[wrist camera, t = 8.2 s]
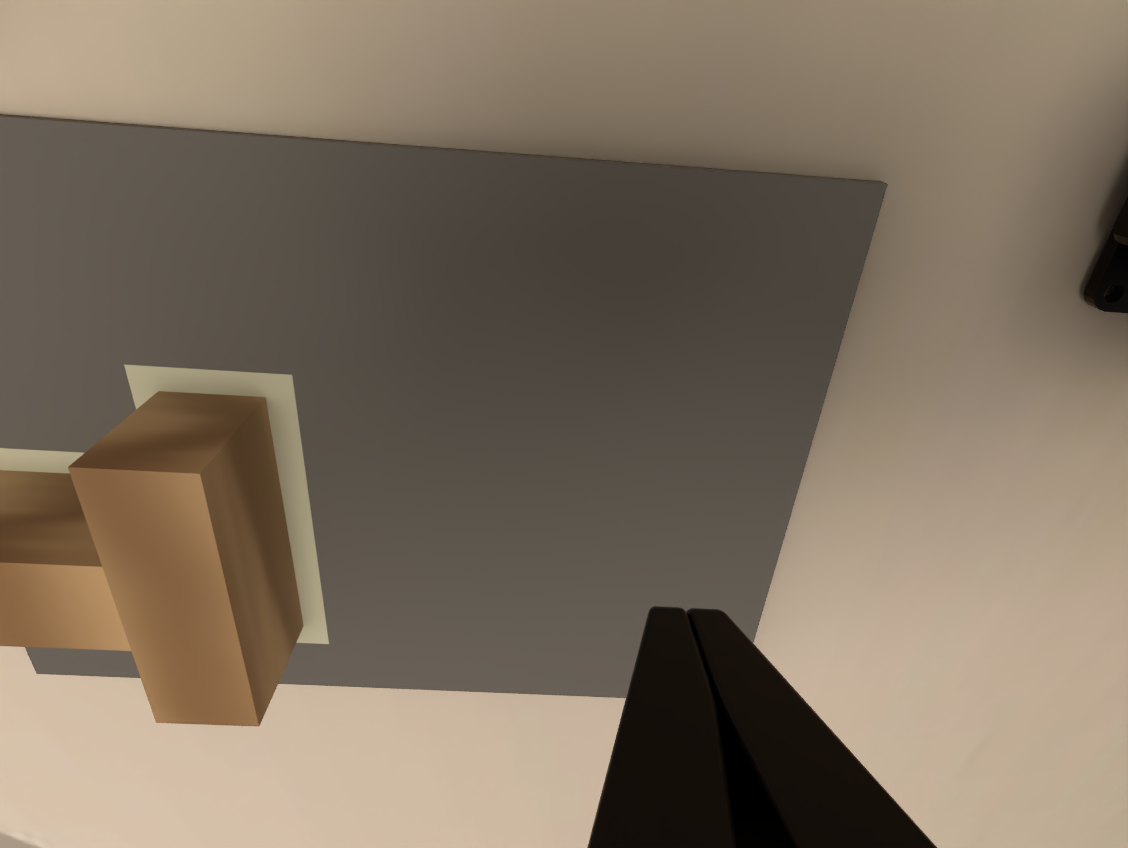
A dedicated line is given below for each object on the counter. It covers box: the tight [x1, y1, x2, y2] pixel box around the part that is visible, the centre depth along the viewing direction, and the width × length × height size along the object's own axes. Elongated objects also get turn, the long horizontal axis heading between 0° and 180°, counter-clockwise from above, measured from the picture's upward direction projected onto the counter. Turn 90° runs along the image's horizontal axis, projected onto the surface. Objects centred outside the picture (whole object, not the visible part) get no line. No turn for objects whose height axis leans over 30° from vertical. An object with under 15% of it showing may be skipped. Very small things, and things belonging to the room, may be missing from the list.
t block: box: [0, 391, 304, 726], centre depth 19 cm, size 9×9×4 cm
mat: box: [0, 114, 887, 698], centre depth 21 cm, size 26×19×1 cm
